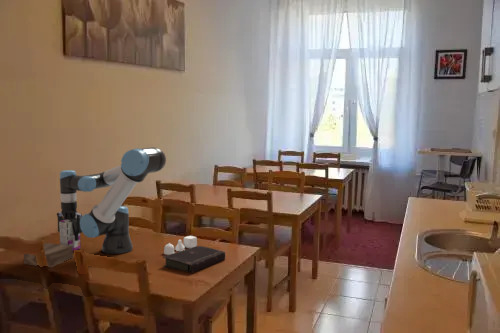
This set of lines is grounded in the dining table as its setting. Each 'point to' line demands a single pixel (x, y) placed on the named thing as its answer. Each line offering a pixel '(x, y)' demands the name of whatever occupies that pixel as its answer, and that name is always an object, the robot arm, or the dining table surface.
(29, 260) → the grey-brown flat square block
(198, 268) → the diary
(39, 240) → the dining table surface
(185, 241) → the container set
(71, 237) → the candy bar box
